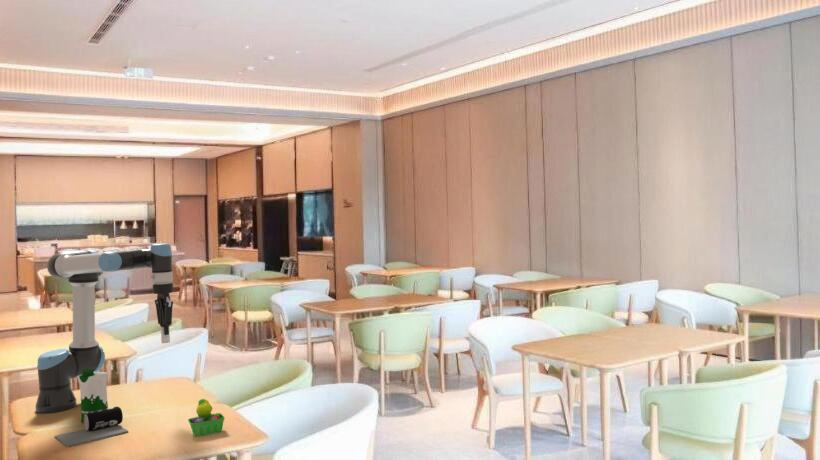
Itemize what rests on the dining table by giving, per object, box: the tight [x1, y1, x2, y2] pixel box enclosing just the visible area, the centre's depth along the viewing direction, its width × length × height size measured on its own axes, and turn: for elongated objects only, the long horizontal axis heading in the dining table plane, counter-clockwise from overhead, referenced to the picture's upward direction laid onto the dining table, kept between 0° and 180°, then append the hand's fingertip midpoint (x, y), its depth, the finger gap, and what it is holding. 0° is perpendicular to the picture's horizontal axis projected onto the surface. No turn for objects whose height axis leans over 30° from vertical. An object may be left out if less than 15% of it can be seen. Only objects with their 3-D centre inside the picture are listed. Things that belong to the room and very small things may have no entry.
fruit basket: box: [187, 398, 226, 437], centre depth 240 cm, size 11×9×11 cm
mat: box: [54, 424, 129, 448], centre depth 244 cm, size 16×20×1 cm
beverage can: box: [83, 406, 124, 431], centre depth 250 cm, size 7×7×12 cm
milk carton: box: [76, 369, 109, 424], centre depth 262 cm, size 9×9×20 cm
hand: (165, 342), depth 269 cm, fingers closed
